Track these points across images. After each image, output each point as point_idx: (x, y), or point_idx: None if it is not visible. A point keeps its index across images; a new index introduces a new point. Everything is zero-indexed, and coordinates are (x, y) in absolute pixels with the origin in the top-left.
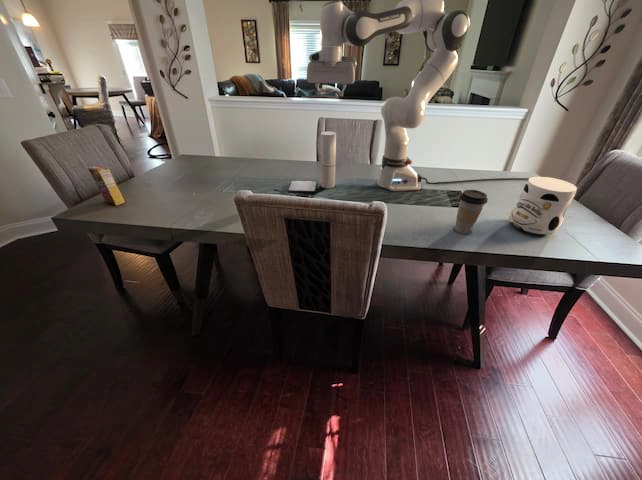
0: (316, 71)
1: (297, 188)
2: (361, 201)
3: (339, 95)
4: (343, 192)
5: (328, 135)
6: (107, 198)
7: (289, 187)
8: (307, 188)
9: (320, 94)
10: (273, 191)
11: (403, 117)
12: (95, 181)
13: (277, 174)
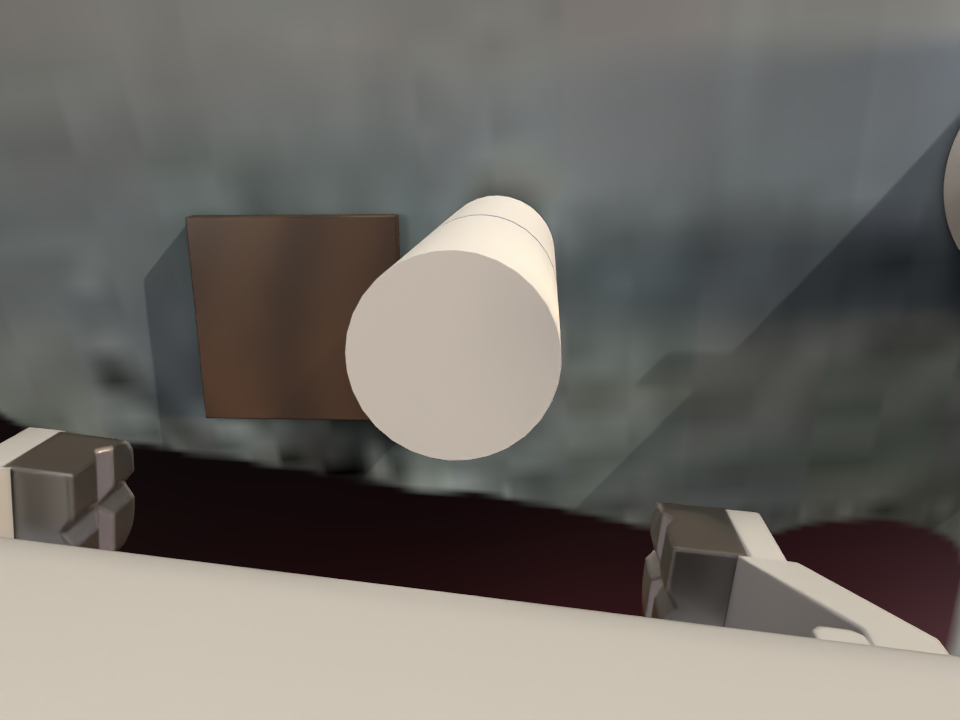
0: None
1: (266, 381)
2: None
3: (643, 607)
4: (625, 382)
5: (459, 458)
6: None
7: (202, 366)
8: (342, 376)
9: (102, 541)
10: (102, 397)
11: None
12: None
13: (7, 8)
